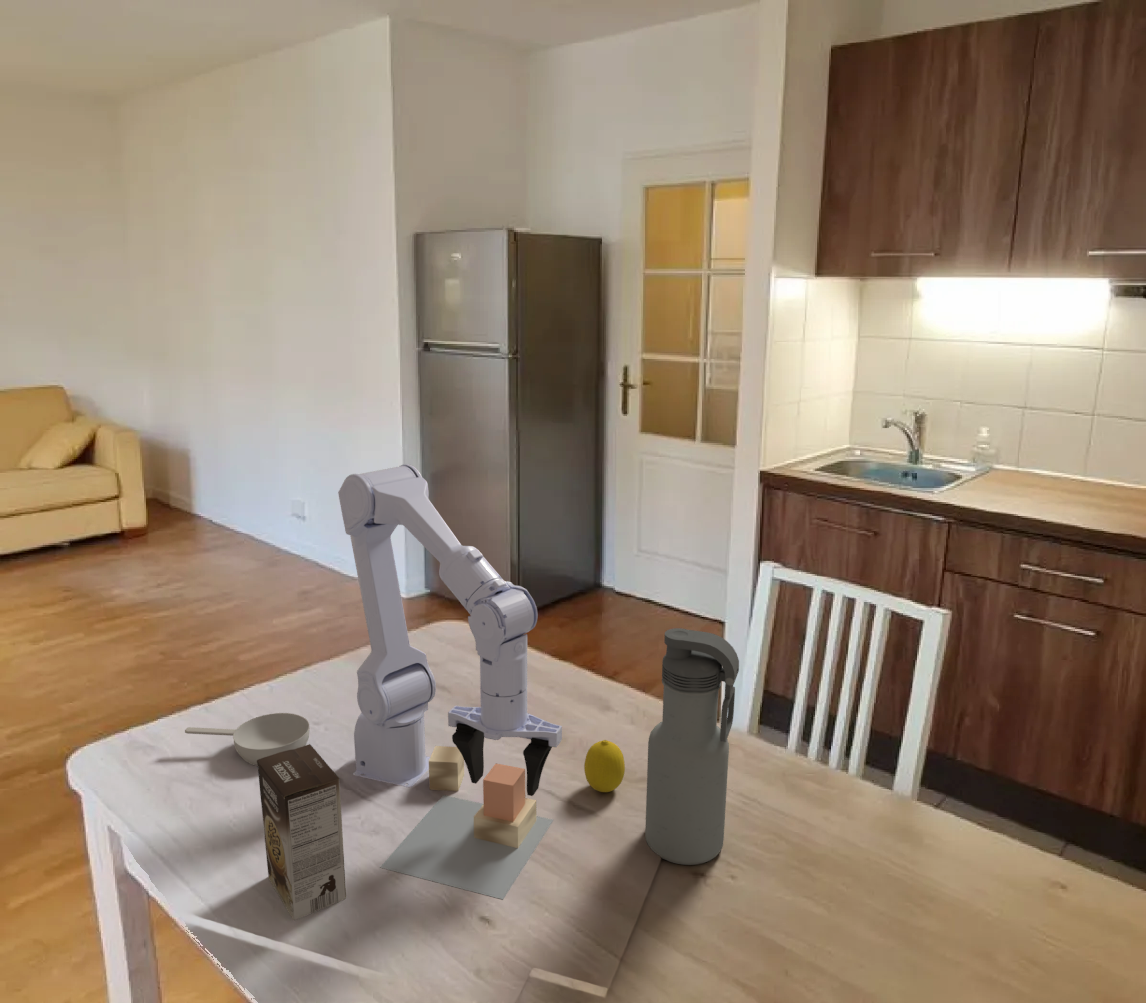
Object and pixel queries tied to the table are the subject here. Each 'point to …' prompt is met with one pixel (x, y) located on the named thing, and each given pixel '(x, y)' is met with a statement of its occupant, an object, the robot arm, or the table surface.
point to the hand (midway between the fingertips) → (504, 785)
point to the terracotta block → (504, 792)
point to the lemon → (604, 766)
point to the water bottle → (690, 749)
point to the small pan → (264, 735)
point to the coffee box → (302, 830)
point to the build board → (462, 851)
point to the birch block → (446, 768)
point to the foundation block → (506, 826)
